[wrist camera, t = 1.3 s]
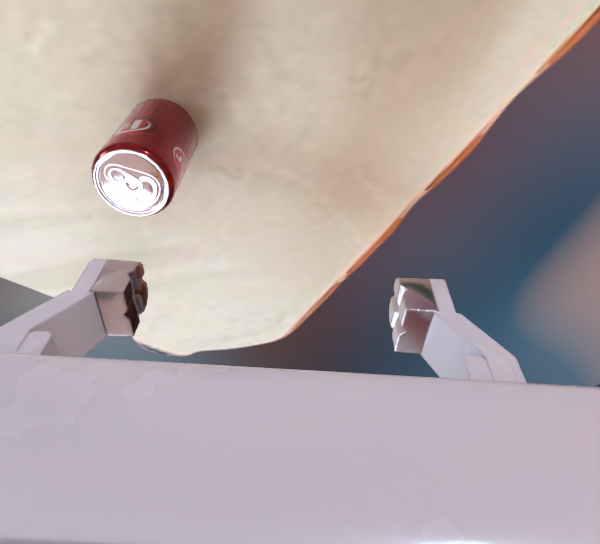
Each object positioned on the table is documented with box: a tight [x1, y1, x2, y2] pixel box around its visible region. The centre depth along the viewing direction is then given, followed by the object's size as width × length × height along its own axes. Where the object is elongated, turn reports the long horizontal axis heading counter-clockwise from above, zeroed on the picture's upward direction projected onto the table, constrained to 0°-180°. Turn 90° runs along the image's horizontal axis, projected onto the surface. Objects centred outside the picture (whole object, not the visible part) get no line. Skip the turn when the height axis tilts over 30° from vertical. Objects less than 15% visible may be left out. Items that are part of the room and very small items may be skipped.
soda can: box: [92, 98, 198, 216], centre depth 46 cm, size 7×7×12 cm
